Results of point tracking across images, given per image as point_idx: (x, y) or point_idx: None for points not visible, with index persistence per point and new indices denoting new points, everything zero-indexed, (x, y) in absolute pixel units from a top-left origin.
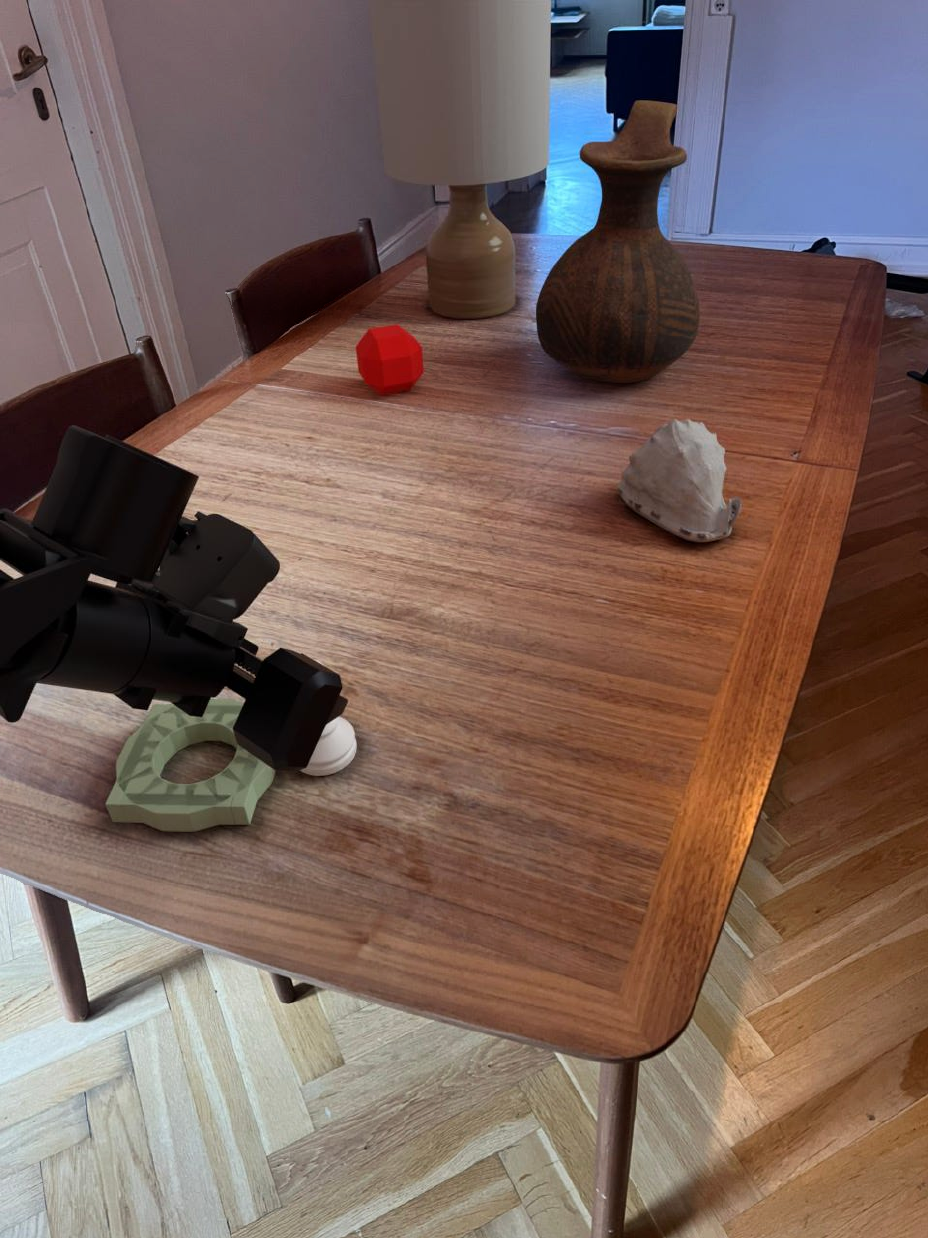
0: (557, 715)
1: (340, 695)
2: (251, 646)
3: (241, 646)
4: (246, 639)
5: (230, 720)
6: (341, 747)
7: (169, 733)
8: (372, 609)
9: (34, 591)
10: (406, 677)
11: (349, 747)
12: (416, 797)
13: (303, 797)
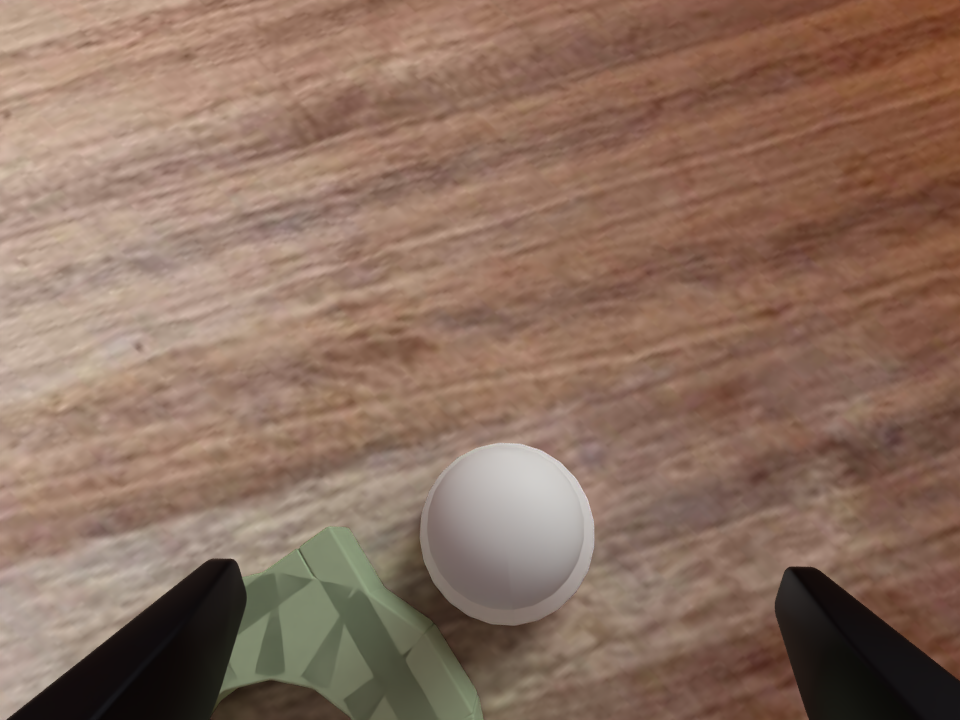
0: (819, 148)
1: (833, 602)
2: (213, 598)
3: (185, 663)
4: (167, 595)
5: (257, 653)
6: (585, 528)
7: None
8: (270, 139)
9: None
10: (486, 244)
11: (590, 509)
12: (781, 498)
13: (575, 674)
